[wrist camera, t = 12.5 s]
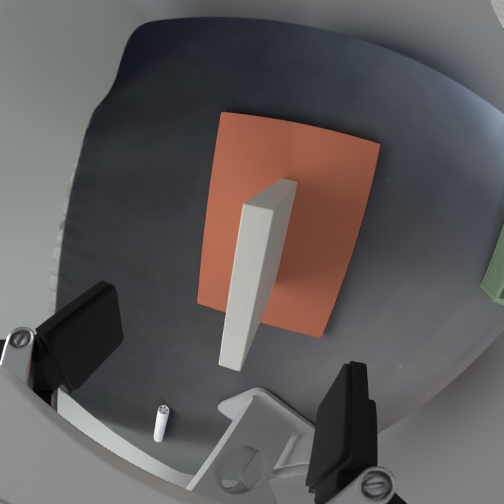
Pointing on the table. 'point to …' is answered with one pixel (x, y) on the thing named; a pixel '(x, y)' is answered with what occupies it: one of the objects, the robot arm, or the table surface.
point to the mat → (302, 215)
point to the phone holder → (255, 449)
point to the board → (255, 267)
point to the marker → (161, 422)
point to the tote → (495, 273)
